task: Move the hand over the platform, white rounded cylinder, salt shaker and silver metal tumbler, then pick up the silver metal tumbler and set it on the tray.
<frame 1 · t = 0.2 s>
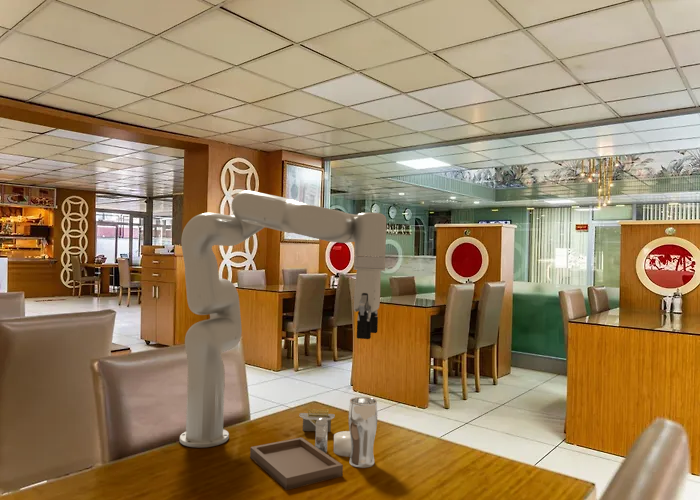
hand: (367, 335, 124), 31 cm above the table, tool pointing down, fingers open, 9 cm apart
silver metal tumbler: (361, 463, 124), on the table
white rounded cylinder: (347, 451, 131), on the table
salt shaker: (321, 451, 131), on the table
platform: (316, 434, 145), on the table
tray: (294, 466, 121), on the table
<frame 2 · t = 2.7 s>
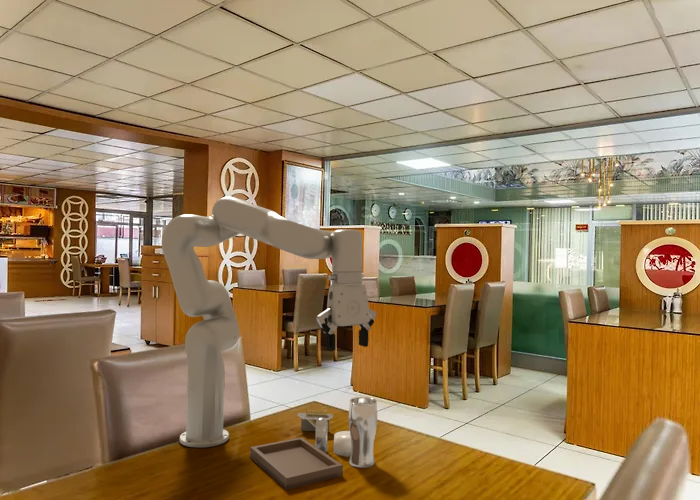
hand: (347, 347, 128), 27 cm above the table, tool pointing down, fingers open, 9 cm apart
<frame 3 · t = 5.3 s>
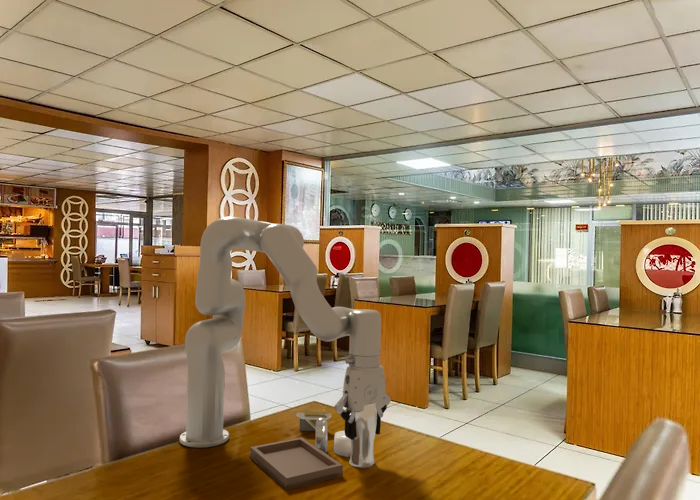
hand: (362, 434, 124), 7 cm above the table, tool pointing down, fingers closed on silver metal tumbler, 6 cm apart
silver metal tumbler: (361, 463, 124), on the table, touching gripper
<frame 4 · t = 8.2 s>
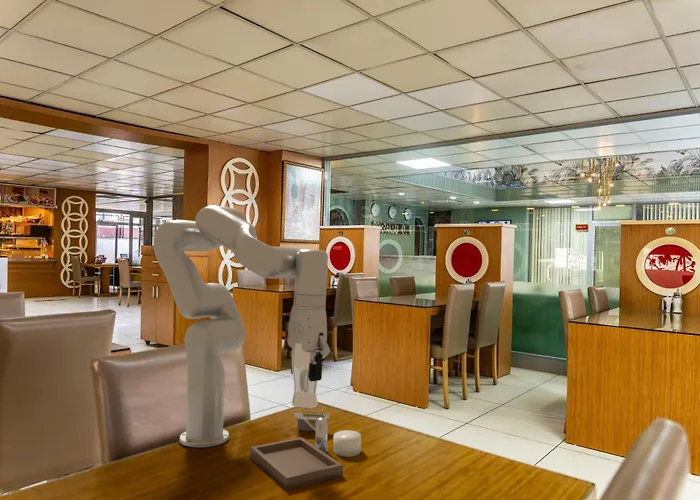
hand: (306, 376, 122), 21 cm above the table, tool pointing down, fingers closed on silver metal tumbler, 6 cm apart
silver metal tumbler: (304, 405, 122), point 14 cm above the table, touching gripper
when the fingers open (9 cm above the table, at t = 11.4 s): silver metal tumbler stays where it is, resting on tray.
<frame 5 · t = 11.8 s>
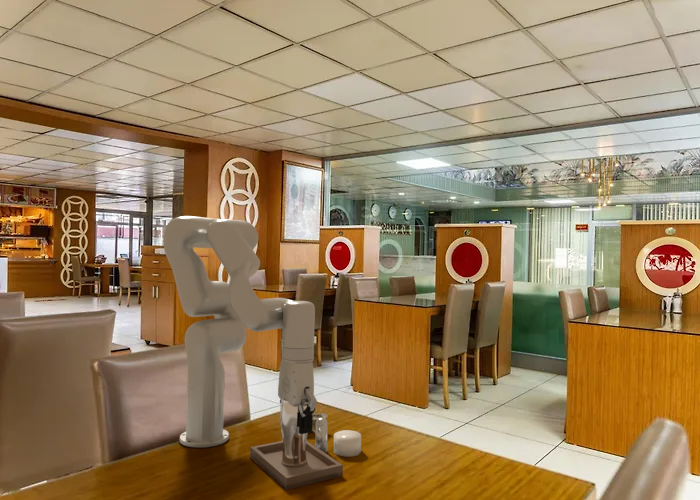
hand: (295, 426, 121), 9 cm above the table, tool pointing down, fingers open, 9 cm apart
silver metal tumbler: (293, 462, 121), point 1 cm above the table, touching tray
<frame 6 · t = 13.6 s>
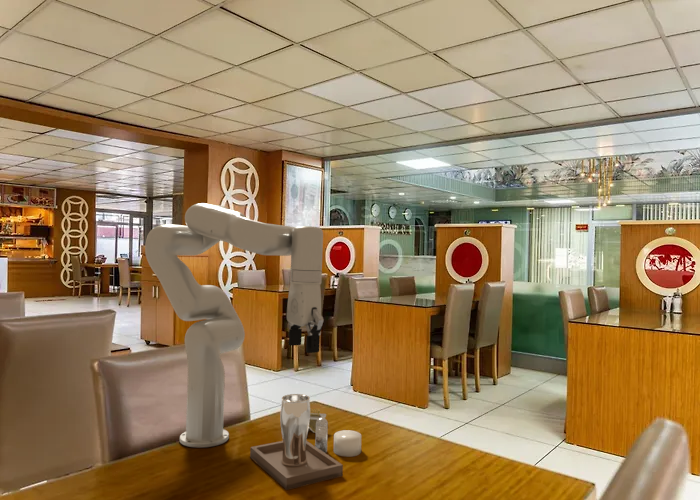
hand: (303, 348, 124), 27 cm above the table, tool pointing down, fingers open, 9 cm apart
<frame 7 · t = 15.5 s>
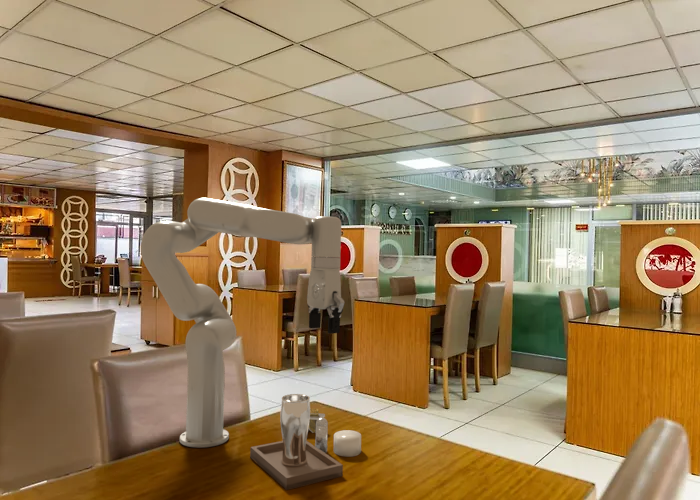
hand: (323, 330, 133), 30 cm above the table, tool pointing down, fingers open, 9 cm apart
at the end: silver metal tumbler inside the target area on the tray (0.4 cm from its centre), point 0.8 cm above the tray's base; silver metal tumbler tilted 0°; the gripper is holding nothing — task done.
